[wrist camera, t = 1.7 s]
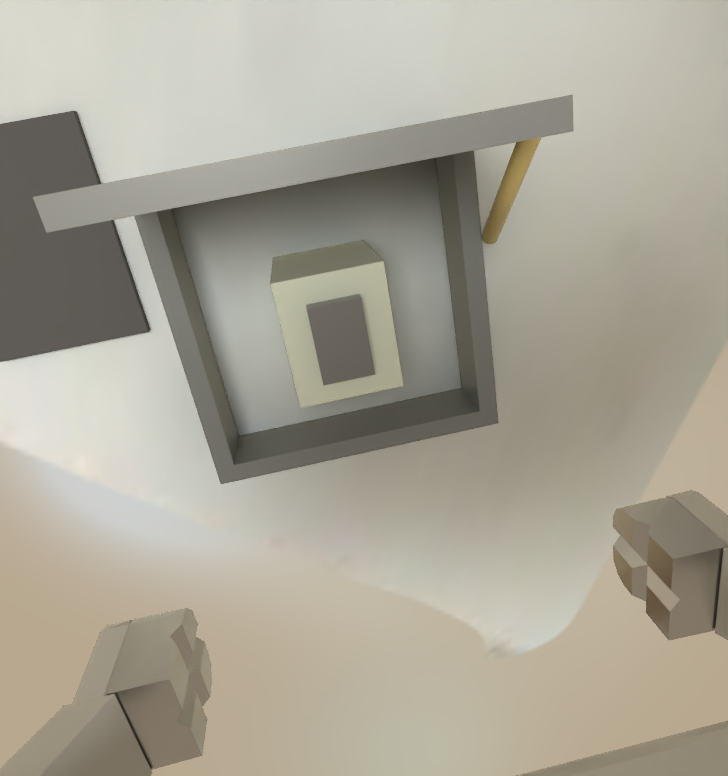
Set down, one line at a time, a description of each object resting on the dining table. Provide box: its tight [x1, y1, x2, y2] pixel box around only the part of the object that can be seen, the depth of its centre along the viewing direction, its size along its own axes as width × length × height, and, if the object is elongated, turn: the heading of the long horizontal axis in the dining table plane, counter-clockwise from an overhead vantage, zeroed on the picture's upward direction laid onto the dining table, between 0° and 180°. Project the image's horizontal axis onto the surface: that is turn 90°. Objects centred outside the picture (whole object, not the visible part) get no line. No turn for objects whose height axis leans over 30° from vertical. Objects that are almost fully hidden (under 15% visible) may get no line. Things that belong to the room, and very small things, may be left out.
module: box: [270, 240, 404, 408], centre depth 29 cm, size 5×6×8 cm
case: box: [33, 95, 573, 484], centre depth 26 cm, size 17×16×14 cm
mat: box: [0, 111, 150, 362], centre depth 29 cm, size 8×11×1 cm
